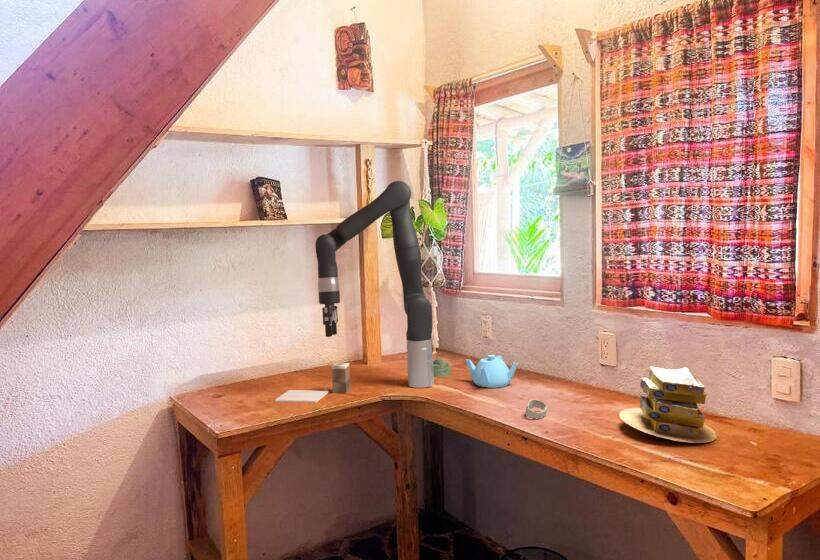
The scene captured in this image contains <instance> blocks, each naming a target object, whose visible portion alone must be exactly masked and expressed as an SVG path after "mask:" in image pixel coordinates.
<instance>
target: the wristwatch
mask: <svg viewBox="0 0 820 560" xmlns="http://www.w3.org/2000/svg"><path fill="white" fill-rule="evenodd" d="M533 408H538V409H541V410H542V411H535V410H532V409H533ZM547 412H548V407H547V404H546V403H545V402H544V401H542V400H539V399H533V398H530V399H529V400H528V402H526V407H525V412H524V415H525V416H526V417H527V418H528V417H529V418H528V419H530V418H541V417H543V416H544V417H546V416H545V415H547ZM544 417H543V418H544ZM541 419H542V418H541Z"/></svg>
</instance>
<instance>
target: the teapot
mask: <svg viewBox="0 0 820 560" xmlns="http://www.w3.org/2000/svg"><path fill="white" fill-rule="evenodd" d="M465 362H466V365H467V368H468V371H469V374H470V377H471V378H472V381H473V383H475V385H476V386H477V385H478V386H477V387H479V386H481V387H480V388H484V387H487V388H486V389H499V387H501V388H504V387H507V386H508V385H509V384H510V383H511V381H512V380H513V378H514V375H515V373H516V370H517V368H518V366H519V362H513V363H512V365H511V367H510V368H509V367H508V365H507V364H506V363H505V361H504V359H503V356H502V355H495V354H488V355H487V357H486V358H485V357H484V358H482V359H479V361H478V363H477V364H476V365H475V364H474V363H473V361H472V360H471V359H467V358H466V359H465Z"/></svg>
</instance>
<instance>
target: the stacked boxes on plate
mask: <svg viewBox="0 0 820 560" xmlns="http://www.w3.org/2000/svg"><path fill="white" fill-rule="evenodd" d="M648 371H649V377H640V382H639V383H640V384H639V388H640V389H642V392H643V393H645V395H647V396H644V395H643V394H642V395H641V394H639V397H640V401H639V407H635V408H625V409H623V410H621V411H620V412H619V414H618V415H619V418H620V419H621V420H622V421H623V422H624V423H625V424H626V425H629V426H630V427H632V428H634V429H635V430H638V431H641V432H643V433H645V434H649V435H651V436H655V437H657V438H663V439H667V440H671V441H675V442H682V443H692V444H696V443H697V444H700V443H701V444H704V443H710V442H713V441H715V440H717V438H718V437H717V432H716V431H715V430H714V429H712V428H711V427H710V426H709V425H707V424H705V420H706V417H705V415H704V413H702V411H701V409H699V408H698V404H699V405H705V404H706V399H707V393H706V391H705V385H704V384H703V383H702V382H701V381H700V380H699V379H698V378H697V377H696V376H694V375H693V374H692V373H691V371H690V368H688V367H686V366H684V367H682V368H678V369H676V368H675V369H674V368H665V367H664V368H662V367H657V366H652V365H650V367H649V370H648Z"/></svg>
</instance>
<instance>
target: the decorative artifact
mask: <svg viewBox="0 0 820 560" xmlns="http://www.w3.org/2000/svg"><path fill="white" fill-rule="evenodd" d="M433 367H434V378H436V377H437V378H438V377H439V376H442V377H447V375H448V376H450V375H452V366H450V365H449V362H447V361H444V359H442V358H440V357H439V356H437V358H435V359H434V360H433Z"/></svg>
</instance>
